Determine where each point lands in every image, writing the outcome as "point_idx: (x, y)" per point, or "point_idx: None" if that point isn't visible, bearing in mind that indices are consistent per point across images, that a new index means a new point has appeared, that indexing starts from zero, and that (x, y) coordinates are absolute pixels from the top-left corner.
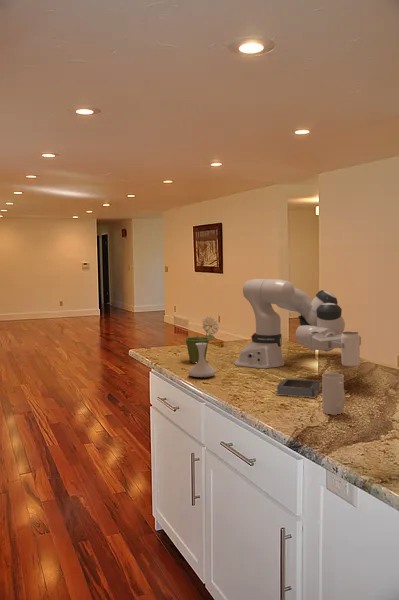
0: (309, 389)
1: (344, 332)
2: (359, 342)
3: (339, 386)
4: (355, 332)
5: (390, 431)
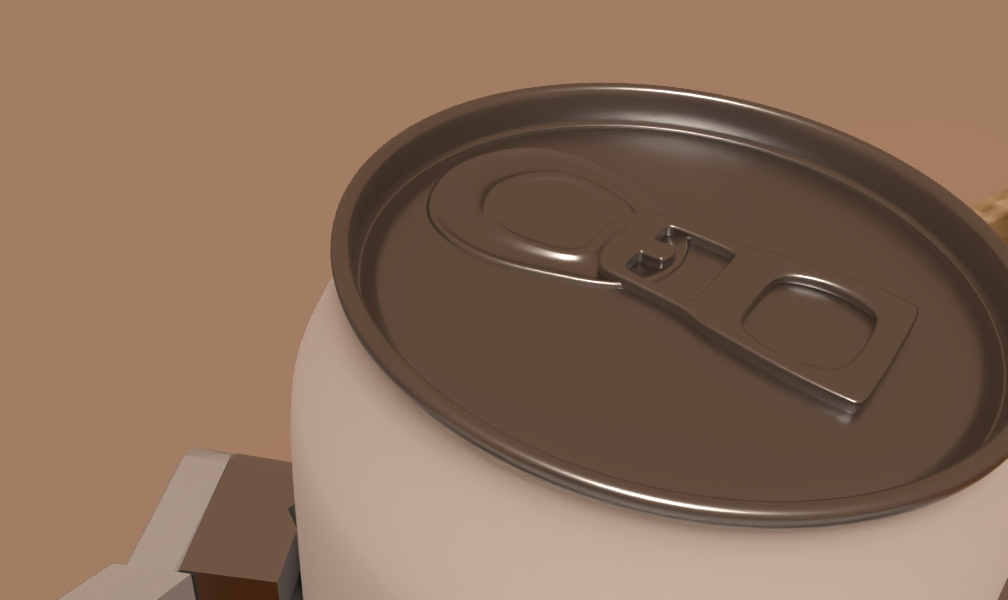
0: None
1: (756, 510)
2: (241, 465)
3: None
4: (362, 216)
5: (979, 215)
